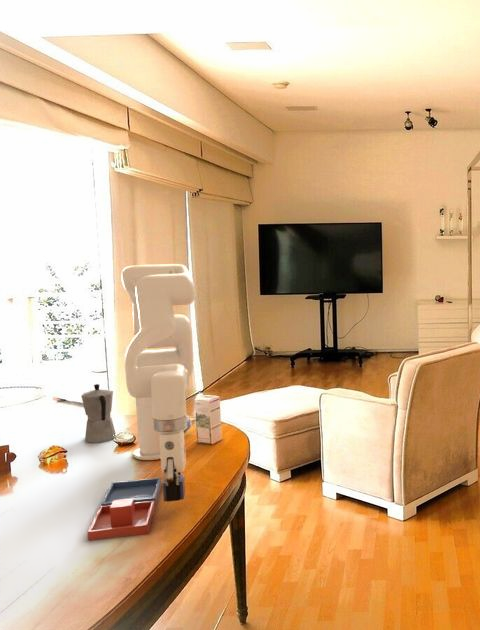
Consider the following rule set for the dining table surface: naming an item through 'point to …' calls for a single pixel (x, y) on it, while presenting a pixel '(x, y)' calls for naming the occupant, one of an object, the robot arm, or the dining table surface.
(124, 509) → the red block
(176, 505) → the dining table surface
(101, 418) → the coffeepot
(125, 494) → the blue tray
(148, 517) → the red tray
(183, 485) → the blue block
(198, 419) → the syrup box
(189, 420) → the blue mole toy
